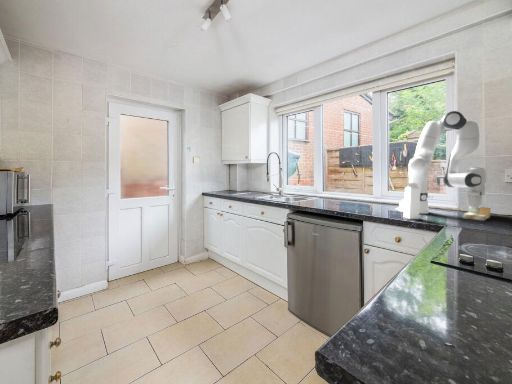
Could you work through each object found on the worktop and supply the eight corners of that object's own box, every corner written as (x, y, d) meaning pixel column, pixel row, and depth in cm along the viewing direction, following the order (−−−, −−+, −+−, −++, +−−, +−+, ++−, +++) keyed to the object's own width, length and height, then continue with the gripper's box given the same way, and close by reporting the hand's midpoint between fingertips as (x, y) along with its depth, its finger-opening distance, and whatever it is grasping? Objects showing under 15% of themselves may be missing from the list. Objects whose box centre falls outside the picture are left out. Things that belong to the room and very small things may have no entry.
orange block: (478, 217, 158) (479, 207, 158) (480, 216, 161) (481, 207, 161) (488, 218, 155) (489, 208, 154) (489, 217, 158) (490, 207, 157)
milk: (403, 217, 157) (404, 182, 155) (412, 217, 158) (413, 182, 156) (409, 219, 151) (411, 183, 149) (419, 219, 152) (420, 183, 150)
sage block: (468, 215, 164) (468, 207, 164) (469, 214, 167) (470, 207, 167) (478, 216, 160) (478, 208, 160) (479, 215, 163) (480, 208, 163)
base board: (462, 218, 154) (462, 214, 154) (466, 216, 161) (466, 212, 160) (484, 220, 147) (484, 216, 146) (487, 218, 153) (487, 214, 153)
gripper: (473, 191, 171) (471, 210, 172) (465, 192, 158) (464, 214, 160) (485, 191, 166) (483, 212, 168) (479, 193, 154) (477, 215, 155)
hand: (474, 213), depth 163 cm, fingers closed on sage block, 5 cm apart
